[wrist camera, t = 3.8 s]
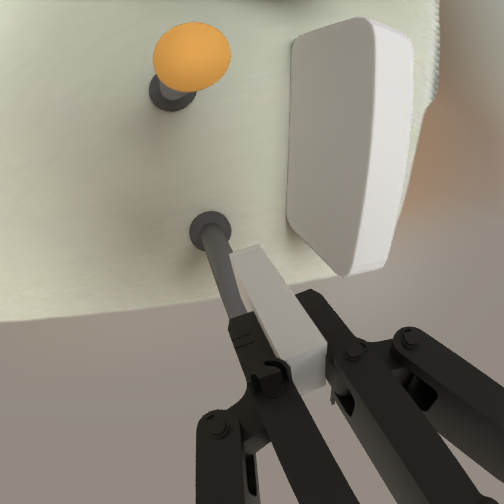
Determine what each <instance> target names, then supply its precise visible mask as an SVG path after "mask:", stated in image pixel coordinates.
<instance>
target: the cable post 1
mask: <svg viewBox="0 0 504 504" xmlns="http://www.w3.org/2000/svg"><path fill="white" fill-rule="evenodd" d="M230 58H231V52H230V47H229V44H228V41H227V40H226V38H225V37H224V35H223V34H222V33H221V32H220V31H219V30H217V29H216V28H214V27H212V26H210V25H207V24H204V23H197V22H191V23H184V24H181V25H178V26H175V27H174V28H172V29H170V30H169V31H167V32H166V33H165V34H164V35H163V36H162V37H161V38H160V40H159V41H158V43H157V45H156V47H155V50H154V54H153V64H154V69H155V72H156V75H155V76H154V77H153V79H152V81H151V83H150V87H149V94H150V98H151V100H152V101H153V103H154V104H155V105H156V106H157V107H159V108H160V109H163V110H166V111H176V110H180V109H182V108H184V107H186V106H187V105H189V104H190V103H191V102H192V100H193V99H194V97H195V95H196V92H197V91H199V90H202V89H204V88H207V87H209V86H211V85H212V84H214V83H215V82H217V81H218V80H219V79H220V78H221V77H222V76H223V75H224V73H225V72H226V70H227V68H228V66H229V63H230Z"/></svg>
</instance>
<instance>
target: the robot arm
mask: <svg viewBox="0 0 504 504" xmlns="http://www.w3.org/2000/svg"><path fill="white" fill-rule="evenodd" d="M229 257H230V260H231V264H232V268H233V271H234V275H235V279H236V282H237V286H238V289H239V293H240V297H241V299H242V301H243V303H244V306H245V308H246V310H247V312H248V313H245V314H243V315H240V316H237V317H234V318H231V319H230V320H229V326H228V331H229V334H230V337H231V340H232V342H233V345H234V348H235V351H236V353H237V356H238V359H239V361H240V364H241V367H242V370H243V372H244V375H245V377H246V381H247V389H246V392H245V394H244V396H243V397H242V399H240V400H239V401H238V402H237V403H236V404H234V405H233V406H231V407H230V408H229V409H227V410H213V411H210V412H208V413H207V414H205V415H203V417H202V418H201V419H200V420H199V422H198V425H197V430H196V431H197V432H196V504H260V495H259V484H258V473H257V462H256V452H257V451H259V450H260V449H261V448H263V447H264V446H265V445H267V444H268V443H269V442H272V444H273V447H274V449H275V452H276V454H277V456H278V458H279V461H280V463H281V465H282V467H283V470H284V472H285V474H286V476H287V478H288V481H289V483H290V485H291V487H292V489H293V492H294V494H295V496H296V498H297V500H298V502H299V504H360V503H359V502H358V500H357V498H356V496H355V495H354V493H353V491H352V489H351V488H350V486H349V484H348V482H347V480H346V479H345V477H344V475H343V473H342V471H341V470H340V468H339V466H338V464H337V463H336V461H335V459H334V457H333V455H332V453H331V452H330V450H329V448H328V446H327V444H326V442H325V441H324V439H323V437H322V435H321V433H320V431H319V430H318V428H317V426H316V424H315V422H314V420H313V419H312V416H311V415H310V413H309V411H308V409H307V407H306V405H305V403H304V401H303V400H302V398H301V396H302V395H304V394H306V393H309V392H311V391H313V390H315V389H318V388H320V387H322V386H324V385H325V384H326V379H327V381H328V382H329V384H330V385H331V387H332V389H331V399H330V400H331V403H332V405H333V404H335V401H336V403H337V404H338V406H339V408H340V409H341V411H342V413H343V415H344V416H345V418H346V420H347V421H348V423H349V424H350V426H351V428H352V429H353V431H354V433H355V434H356V436H357V438H358V439H359V441H360V443H361V444H362V446H363V448H364V449H365V451H366V453H367V454H368V456H369V458H370V459H371V461H372V463H373V464H374V466H375V467H376V469H377V471H378V472H379V474H380V476H381V477H382V479H383V481H384V482H385V484H386V486H387V487H388V489H389V490H390V492H391V494H392V495H393V497H394V499H395V500H396V502H397V504H498V503H497V501H495V500H494V499H492V498H489V497H486V496H483V495H482V494H480V493H479V491H478V490H477V488H476V487H475V485H474V484H473V482H472V481H471V480H470V478H469V477H468V475H467V474H466V472H465V471H464V469H463V468H462V466H461V465H460V463H459V462H458V461H457V459H456V458H455V456H454V455H453V454H452V452H451V451H450V449H449V448H448V447H447V445H446V444H445V443H444V441H443V440H442V438H441V437H440V435H439V434H441V435H442V436H443V437H444V438H446V439H447V440H448V441H449V442H451V443H452V444H453V445H454V446H456V447H457V448H458V449H460V450H461V451H462V452H463V453H465V454H466V455H467V456H469V457H470V458H471V459H472V460H474V461H475V462H476V463H478V464H479V465H480V466H482V467H483V468H484V469H485V470H487V471H488V472H489V473H491V474H492V475H493V476H494V477H496V478H497V479H498V480H500V481H501V482H503V483H504V387H502V386H501V385H499V384H498V383H497V382H495V381H494V380H492V379H491V378H490V377H488V376H487V375H486V374H484V373H483V372H481V371H480V370H478V369H477V368H476V367H474V366H473V365H471V364H470V363H468V362H467V361H466V360H464V359H463V358H461V357H460V356H459V355H457V354H456V353H454V352H453V351H451V350H450V349H448V348H447V347H445V346H444V345H443V344H441V343H439V342H438V341H437V340H435V339H434V338H432V337H431V336H429V335H428V334H426V333H425V332H423V331H422V330H420V329H418V328H415V327H404V328H401V329H400V330H398V331H397V332H396V334H395V335H394V337H393V339H389V340H384V341H379V342H366V341H365V340H363V339H360V338H357V337H355V336H354V335H353V334H352V332H351V331H350V330H349V329H348V327H347V326H346V325H345V324H344V322H343V321H342V320H341V318H340V317H339V316H338V315H337V313H336V312H335V311H333V308H332V307H331V306H330V305H329V304H328V302H327V301H326V300H325V299H324V297H323V296H322V295H321V294H320V293H318V292H316V291H314V290H312V289H309V290H306V291H304V292H301V293H298V294H296V295H294V294H293V292H292V291H291V289H290V288H289V287H288V285H287V284H286V282H285V281H284V279H283V278H282V276H281V275H280V274H279V272H278V271H277V269H276V268H275V266H274V265H273V264H272V262H271V261H270V259H269V258H268V257H267V255H266V254H265V252H264V251H263V249H262V248H261V247H260V245H259V244H257V245H254V246H251V247H248V248H245V249H242V250H239V251H236V252H233V253H230V254H229ZM437 432H438V433H439V434H438V433H437Z"/></svg>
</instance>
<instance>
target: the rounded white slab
mask: <svg viewBox="0 0 504 504" xmlns="http://www.w3.org/2000/svg"><path fill="white" fill-rule="evenodd" d="M413 93H414V51H413V47H412V43H411V40H410V39H409V38H408V37H407V36H406V34H405V33H404V32H401V31H399V30H397V29H394V28H392V27H390V26H387V25H385V24H382V23H380V22H377V21H375V20H372V19H369V18H365V17H356V18H352V19H348V20H345V21H342V22H338V23H335V24H332V25H329V26H326V27H323V28H320V29H317V30H314V31H311V32H309V33H306V34H303V35H301V36H299V37H298V38H296V39H295V41H294V43H293V45H292V50H291V82H290V126H289V155H288V179H287V199H286V214H287V219H288V222H289V224H290V226H291V228H292V229H293V230H294V231H295V232H296V233H297V234H298V235H299V236H300V237H301V238H302V239H303V240H304V241H305V242H306V243H307V244H308V245H309V246H310V247H311V248H312V249H313V250H314V251H315V252H316V253H317V254H318V255H319V256H320V257H321V258H322V259H323V260H324V262H325V263H326V264H327V265H328V266H329V267H330V268H331V269H332V270H333V271H334V272H335V273H336V274H338V275H339V276H341V277H343V278H344V277H349V276H352V275H357V274H361V273H365V272H370V271H374V270H377V269H380V268H382V267H383V265H384V264H385V262H386V260H387V258H388V254H389V250H390V246H391V243H392V239H393V234H394V230H395V226H396V221H397V216H398V211H399V206H400V201H401V196H402V189H403V184H404V177H405V171H406V164H407V157H408V149H409V141H410V131H411V123H412V111H413Z"/></svg>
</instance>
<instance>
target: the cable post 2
mask: <svg viewBox="0 0 504 504" xmlns="http://www.w3.org/2000/svg"><path fill="white" fill-rule="evenodd" d="M230 236H231V226H230V224H229V222H228V220H227V219H226V217H225V216H224V215H222V214H221V213H218V212H214V211H209V212H204V213H202V214H200V215H198V216H197V217H196V218H195V219H194V220H193V222H192V224H191V226H190V237H191V240H192V242H193V244H194V245H195V246H196V247H197V248H198V249H200V250H202V251H205V252H206V255H207V258H208V261H209V263H210V266H211V269H212V272H213V275H214V278H215V281H216V284H217V287H218V289H219V292H220V295H221V298H222V301H223V303H224V306H225V309H226V312H227V314H228V317H229V320H230V319H231V318H234V317H237V316H240V315H243V314H245V313H248V312H247V310H246V308H245V306H244V303H243V301H242V299H241V297H240V293H239V289H238V286H237V282H236V279H235V275H234V271H233V268H232V264H231V260H230V257H229V254H230V253H233V251H232V249H231V247H230V245H229V243H228V241H229V239H230Z"/></svg>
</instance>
